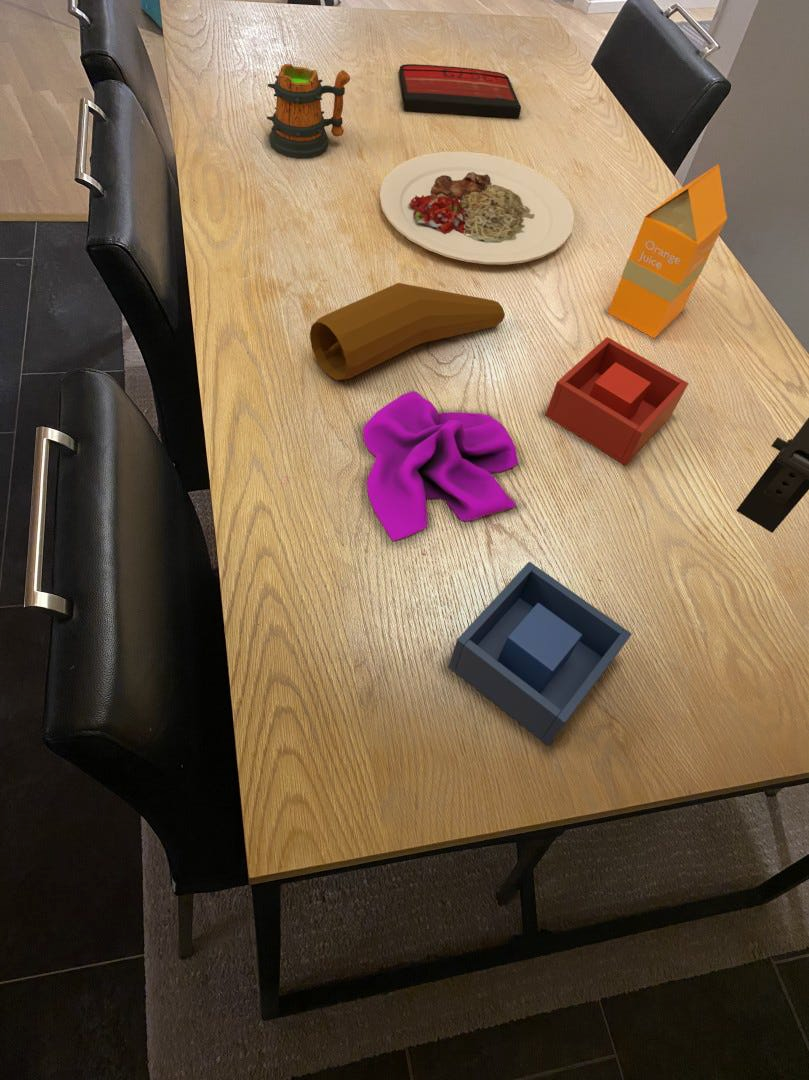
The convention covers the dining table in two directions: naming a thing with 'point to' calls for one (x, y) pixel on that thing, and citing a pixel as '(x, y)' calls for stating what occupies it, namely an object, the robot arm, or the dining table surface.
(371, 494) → the cloth
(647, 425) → the red bin
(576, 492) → the dining table surface
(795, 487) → the robot arm
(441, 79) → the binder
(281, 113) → the mug
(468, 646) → the blue bin
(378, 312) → the horn
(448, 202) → the plated food
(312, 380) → the dining table surface
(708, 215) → the orange juice
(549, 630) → the blue block
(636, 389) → the red block
